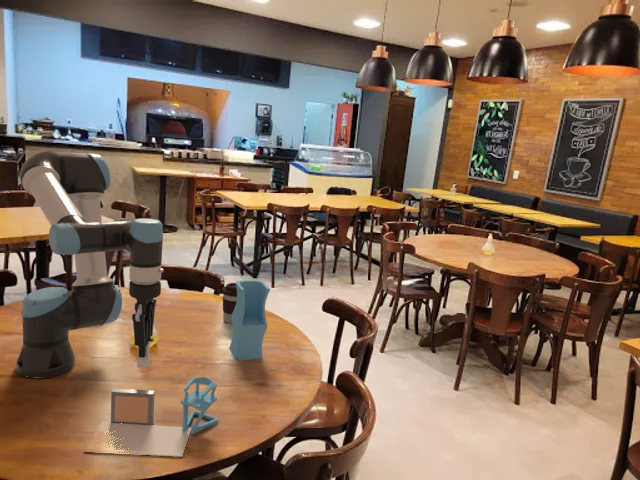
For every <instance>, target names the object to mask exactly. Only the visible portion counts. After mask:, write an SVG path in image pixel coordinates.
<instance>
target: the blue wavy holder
mask: <svg viewBox="0 0 640 480" xmlns="http://www.w3.org/2000/svg"><path fill="white" fill-rule="evenodd" d="M235 283H236V288H237V303H236V306H235V309H234V311H233V313H232V317H231V319H232V324H231V325H232V336H231V341H230V346H229V347H228V349H229V350H230V352H231V354H232V356H233V358H234V359H235V360H237V361H248V360H259V359H260V360H261V359H262V358H264V357H263V355H264V354H263V340H264V337H265V335H266V332H267V329H268V323H267V318H266V304H267V303H266V302H267V299H268V296H269V294H270V291H271V288H270V287H269V286H268V285H267V284H266V282H264V281H263V280H261V279H249V280H248V279H243V280H242V279H239V280H236V281H235Z"/></svg>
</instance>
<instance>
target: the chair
mask: <svg viewBox="0 0 640 480" xmlns="http://www.w3.org/2000/svg"><path fill="white" fill-rule="evenodd" d="M193 384H196V386H195V391H193V392H192V393H190V394H189V393H188V390H189V389H190V387H192V385H193ZM200 384H201V385H206V387H205V388H204V390H203V391H200ZM217 387H218V384H217V383H216V382H215V380H213V379H211V378H210V377H207V376H206V377H205V376H202V377H196V378H192V379H190V380H189V381H187V383H186V384H185V387H184V388H183V390H184V391H183V392H184V398H183V399H181V400H180V404H181V405H182V426H181V427H182V430H183V431H185V430H186V429H187V428H188V427H189V426H190V424H191V422H192V420H193V418H194V416H198V417H197V419H196V420H195V421H194V423H193V425H192V428H191V433H190V435H191V434H193V435H194V434H195V433H197V432H199V431H201V430H202V431H203V430H204V429H207V428H209V427H211V426H213V425H215V424H218V422H219V418H218V417H214V416H212V415H209V414H207V413H206V412H207V411H208V409H209V408H210V407H211V405H212V404H214V403H216V402H217V401H218V397H217V396H215V393H216V390H217ZM209 392H211V393H210V394H208V393H209ZM189 407H192V408H194V409H196V410H193V411H191V413H190V414H188V413H189ZM188 415H189V416H188ZM203 418H204V419H206V420H208V421H206V422H204V423H201V420H202V419H203ZM199 423H201V424H199Z"/></svg>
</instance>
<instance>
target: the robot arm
mask: <svg viewBox="0 0 640 480" xmlns="http://www.w3.org/2000/svg"><path fill="white" fill-rule="evenodd" d="M19 181H20V184H21V185H22V188H23V189H24V191H25V192H27V194H29V195H31V196H33V198H34V200H35V201H36V203H37V205H38V206H39V208H40V210H41V212H42V213H43V214H44V216H45V218H46V220H47V221H48V223H49V224H50V228H49V230H48V242H49V246H50V249H51V251H52V253H54V254H56V255H59V256H61V255H69V256H71V255H73V256H74V263H75V273H76V280H75V281H74V282H73V283H72V284H71V291H69V290H68V289H67V288H66V287H62V286H57V287H55V286H50V287H49V286H48V287H43V288H39V289H36V290H34V291H31V292H30V293H28V294H27V295H26V296H25V297H24V298H23V301H22V307H21V316H22V347H21V349H20V352H19V355H18V357H17V359H16V363H15V364H16V367H15V368H16V369H15V370H16V373H17V372H18V373H19V374H21V375H23V376H28V377H48V378H51V377H50V376H53V377H56V375H57V376H61V375H63V374H65V373H67V372H69V371H70V370H72V369H73V368H74V367H75V364H76V356H75V353H74V349H73V348H72V345H71V343H70V341H69V332H70V331H74V330H81V329H85V328H91V327H94V326H95V327H96V326H103V325H107V324H109V323H110V324H111V323H114V322H116V321H117V319H118V318H119V317H120V315H121V312H122V306H123V295H122V293H121V292H122V291H121V288H120V286H119V287H118V286H115V285H116V284H114V280H113V279H112V278H111V277H109V276H108V270H107V261H106V260H107V259H106V252H113V251H114V252H115V251H127V252H129V277H128V278H129V280H130V281H129V289H128V294H129V296H130V297H131V298H134V299H136V303H134V311H135V313H132V315H131V319H132V322H133V323H132V324H133V339H134V343H133V345H134V346H135V347H137V357H136V359H137V360H136V363H137V364H136V368H139V369H141V368H142V369H148V368H149V367H150V359H151V358H150V354H151V350H150V349H151V348H150V347H151V343H152V342H154V338H152V337H153V333H154V323H155V312H156V311H155V310H156V303H157V299H156V298H158V297H159V296H160V295H161V294H162V293H161V292H162V281H161V280H162V273H164V271H165V270H164V268H162V260H163V240H164V233H163V222H161V221H160V220H158V219H153V218H136V219H135V218H134V219H133V220H132V219H131V218H123V217H120V218H117V219H115V220H113V221H103V220H102V210H101V209H102V208H101V200H102V198H104V197H105V191H107V190H109V188H110V185H111V173H110V169H109V166H108V164H107V162H106V160H105V159H104V158H103V156H102V155H100V154H97V153H88V152H77V151H76V152H72V151H57V150H56V151H55V150H46V151H45V150H44V151H40V152H37V153H35V154H33V155H31V156H29V158H27V159H26V161H24V162H23V164H22V166H21V168H20V170H19ZM18 373H17V374H18ZM19 374H18V375H19ZM21 375H20V376H21ZM23 376H22V377H23Z"/></svg>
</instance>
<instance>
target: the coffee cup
mask: <svg viewBox="0 0 640 480" xmlns="http://www.w3.org/2000/svg"><path fill="white" fill-rule="evenodd" d="M221 294H223V295H222V313H223V314H222V315H223V319H222V320H223V322H225V323H227V324H231V325H232V319H231V317H232V313H233V311H234V309H235V306H236V303H237V288H236V282H230V283H227V284H226V285H225V286H223V287H222V288H221Z"/></svg>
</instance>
